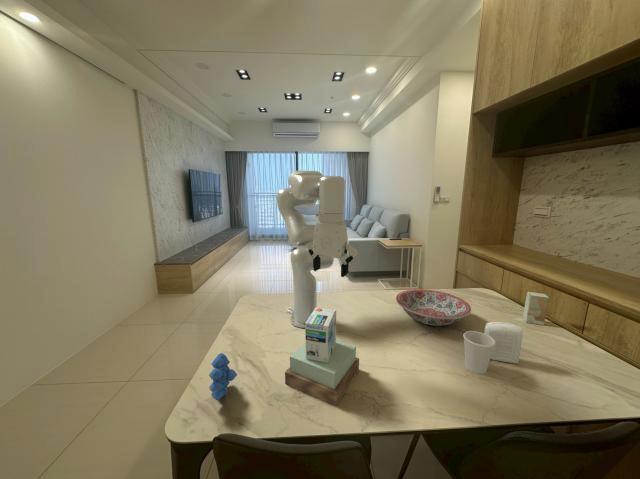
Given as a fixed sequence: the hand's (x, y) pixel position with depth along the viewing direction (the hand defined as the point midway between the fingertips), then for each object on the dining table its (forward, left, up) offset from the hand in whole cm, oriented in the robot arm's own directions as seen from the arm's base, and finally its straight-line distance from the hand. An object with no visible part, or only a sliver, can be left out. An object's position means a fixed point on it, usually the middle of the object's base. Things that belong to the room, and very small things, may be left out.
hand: (330, 272), depth 82 cm
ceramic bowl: (+26, +43, -29) cm, 58 cm away
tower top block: (+3, -10, -25) cm, 27 cm away
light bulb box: (+2, -10, -21) cm, 23 cm away
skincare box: (+64, +61, -29) cm, 94 cm away
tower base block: (+3, -10, -29) cm, 31 cm away
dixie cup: (+42, +16, -29) cm, 54 cm away
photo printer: (+49, +25, -29) cm, 62 cm away
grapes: (-17, -29, -29) cm, 44 cm away
